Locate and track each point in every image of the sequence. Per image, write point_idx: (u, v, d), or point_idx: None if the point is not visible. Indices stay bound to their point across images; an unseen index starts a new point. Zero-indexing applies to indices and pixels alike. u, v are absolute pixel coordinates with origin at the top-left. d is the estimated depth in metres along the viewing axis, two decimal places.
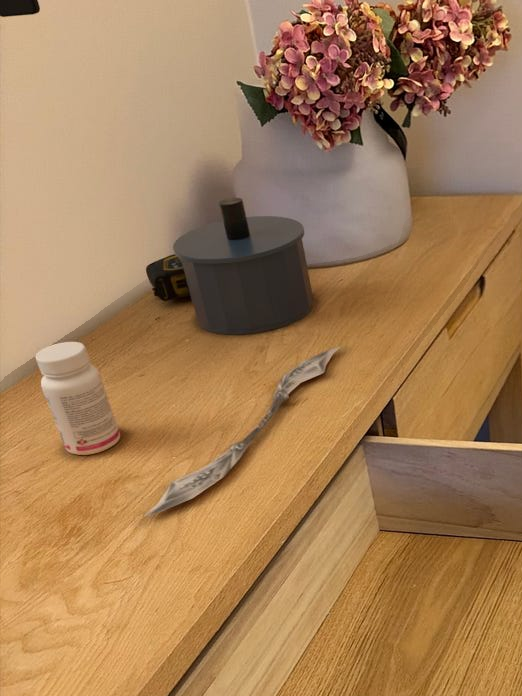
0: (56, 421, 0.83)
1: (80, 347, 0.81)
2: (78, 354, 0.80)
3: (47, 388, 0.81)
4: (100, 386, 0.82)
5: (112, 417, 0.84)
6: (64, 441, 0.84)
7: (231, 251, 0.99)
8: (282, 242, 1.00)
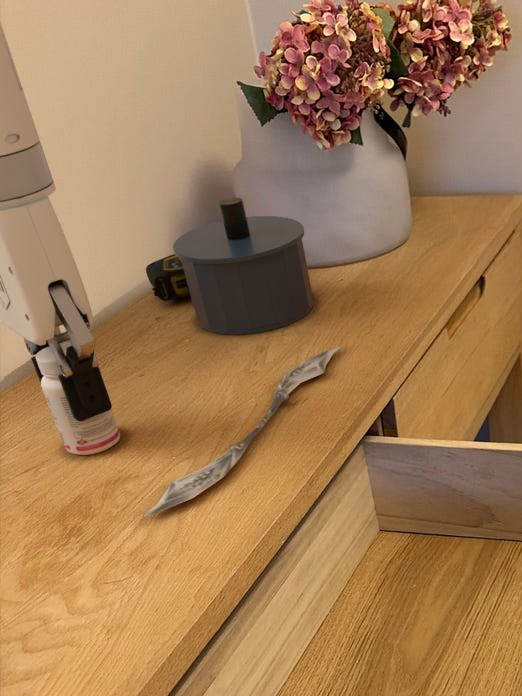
0: (56, 421, 0.83)
1: None
2: None
3: (47, 388, 0.81)
4: None
5: (112, 417, 0.84)
6: (64, 441, 0.84)
7: (231, 251, 0.99)
8: (282, 242, 1.00)
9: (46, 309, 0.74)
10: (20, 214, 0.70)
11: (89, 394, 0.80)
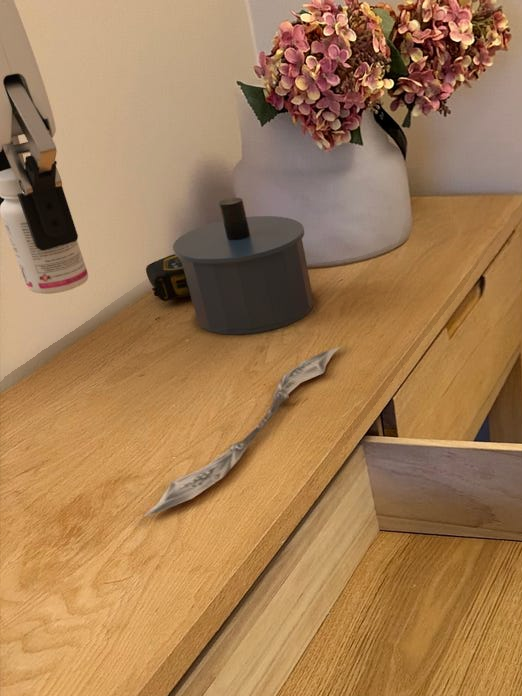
0: (17, 253, 0.76)
1: None
2: None
3: (6, 213, 0.73)
4: None
5: (79, 253, 0.77)
6: (26, 278, 0.77)
7: (231, 251, 0.99)
8: (282, 242, 1.00)
9: (1, 107, 0.66)
10: None
11: (52, 218, 0.73)
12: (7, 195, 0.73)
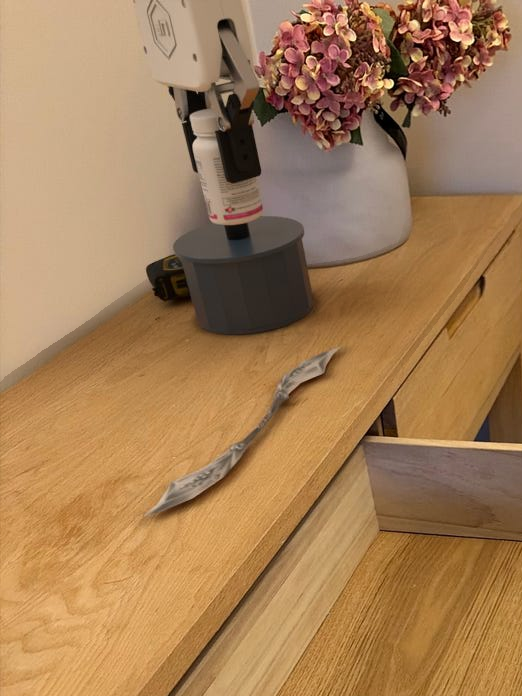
0: (205, 187, 0.84)
1: None
2: None
3: (200, 149, 0.81)
4: None
5: (258, 188, 0.85)
6: (211, 210, 0.85)
7: (231, 251, 0.99)
8: (282, 242, 1.00)
9: (214, 48, 0.74)
10: None
11: (243, 153, 0.81)
12: (203, 132, 0.81)
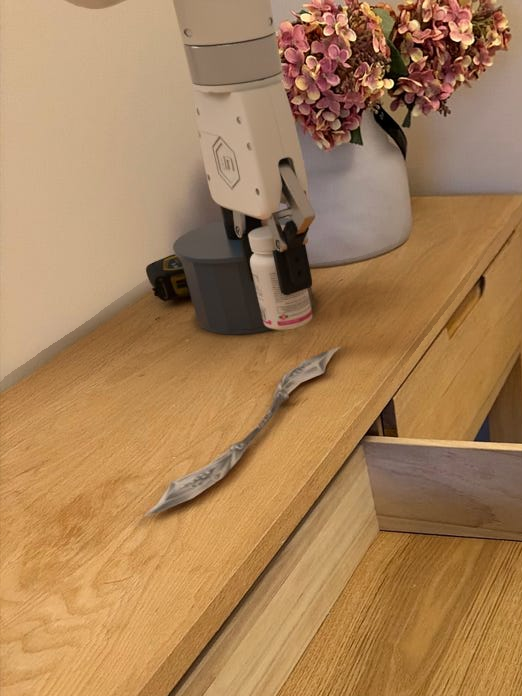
0: (261, 297, 0.92)
1: None
2: None
3: (258, 265, 0.89)
4: None
5: (308, 296, 0.93)
6: (266, 317, 0.93)
7: (231, 251, 0.99)
8: None
9: (275, 184, 0.83)
10: (262, 93, 0.79)
11: (297, 269, 0.89)
12: (260, 251, 0.89)
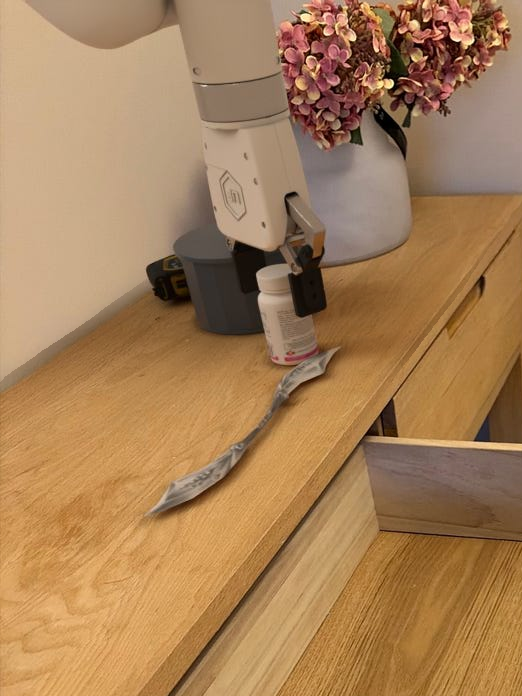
0: (269, 334, 0.94)
1: None
2: None
3: (266, 303, 0.92)
4: None
5: (314, 332, 0.96)
6: (273, 353, 0.95)
7: (231, 251, 0.99)
8: None
9: (281, 217, 0.84)
10: (269, 131, 0.81)
11: (312, 292, 0.89)
12: (268, 290, 0.91)
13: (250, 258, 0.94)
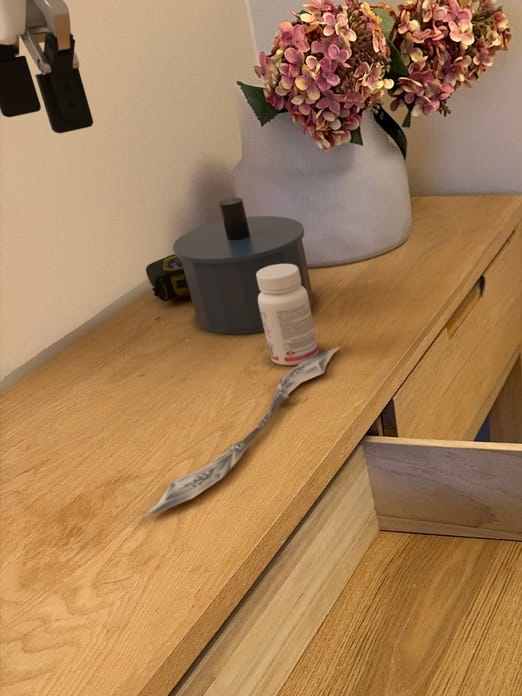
0: (269, 334, 0.94)
1: (294, 267, 0.92)
2: (295, 273, 0.91)
3: (266, 303, 0.92)
4: (308, 303, 0.94)
5: (314, 332, 0.96)
6: (273, 353, 0.95)
7: (231, 251, 0.99)
8: (282, 242, 1.00)
9: None
10: None
11: (69, 100, 0.74)
12: (268, 290, 0.91)
13: (10, 72, 0.80)
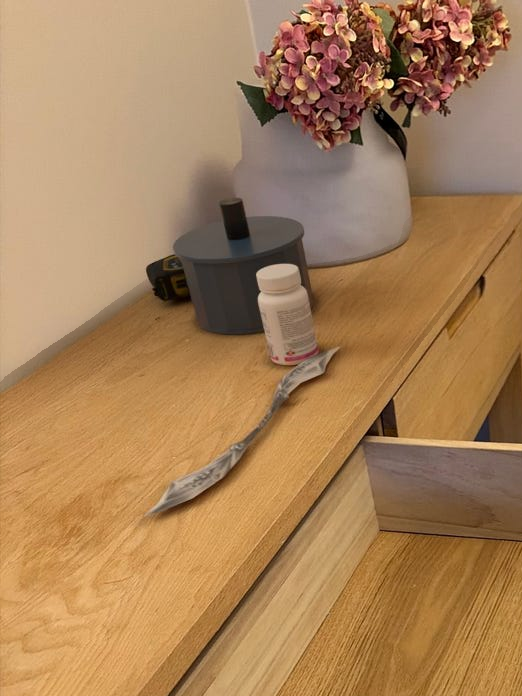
0: (269, 334, 0.94)
1: (294, 267, 0.92)
2: (295, 273, 0.91)
3: (266, 303, 0.92)
4: (308, 303, 0.94)
5: (314, 332, 0.96)
6: (273, 353, 0.95)
7: (231, 251, 0.99)
8: (282, 242, 1.00)
9: None
10: None
11: None
12: (268, 290, 0.91)
13: None
